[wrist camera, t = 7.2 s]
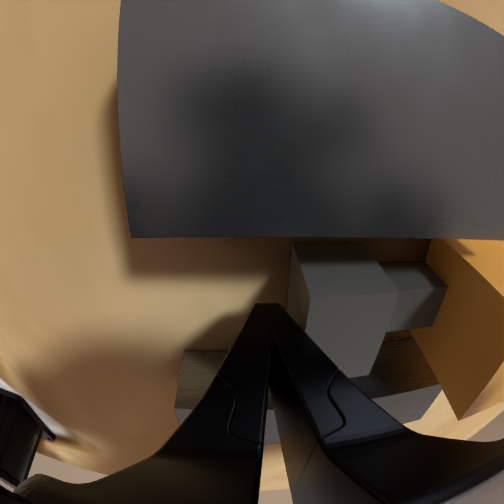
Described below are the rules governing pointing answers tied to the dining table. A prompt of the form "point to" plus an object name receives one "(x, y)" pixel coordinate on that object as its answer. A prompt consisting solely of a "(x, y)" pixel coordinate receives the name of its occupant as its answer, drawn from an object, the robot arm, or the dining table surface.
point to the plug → (408, 311)
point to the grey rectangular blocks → (312, 139)
